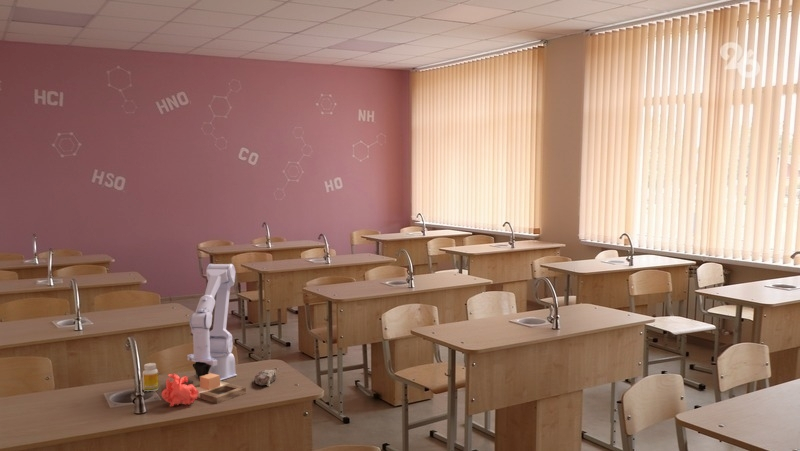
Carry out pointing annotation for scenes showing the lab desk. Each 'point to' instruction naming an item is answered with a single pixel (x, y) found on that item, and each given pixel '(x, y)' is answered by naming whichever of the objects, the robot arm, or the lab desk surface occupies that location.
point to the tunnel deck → (215, 390)
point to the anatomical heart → (179, 391)
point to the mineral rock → (265, 377)
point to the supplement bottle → (150, 377)
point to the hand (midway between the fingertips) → (203, 382)
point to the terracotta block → (209, 381)
